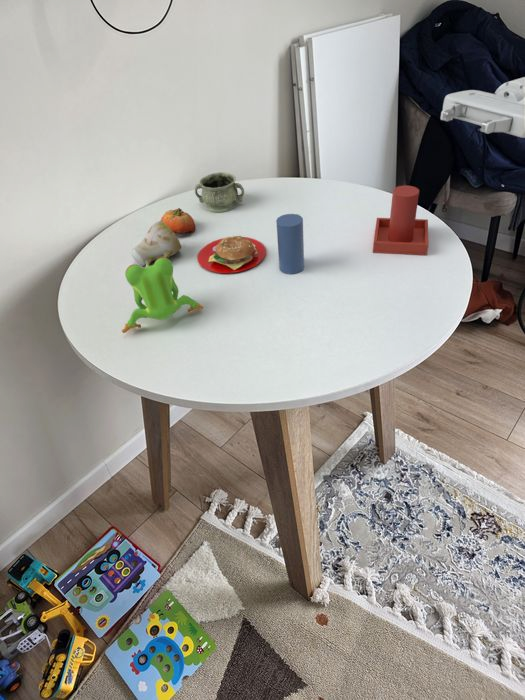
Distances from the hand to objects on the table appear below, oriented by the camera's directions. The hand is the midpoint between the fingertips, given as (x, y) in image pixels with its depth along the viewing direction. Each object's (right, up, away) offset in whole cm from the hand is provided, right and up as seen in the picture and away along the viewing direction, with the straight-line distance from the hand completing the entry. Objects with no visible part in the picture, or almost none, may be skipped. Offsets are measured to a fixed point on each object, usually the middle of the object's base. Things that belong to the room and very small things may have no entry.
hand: (463, 122), depth 89 cm
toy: (-55, -36, -3) cm, 65 cm away
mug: (-58, -23, +12) cm, 64 cm away
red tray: (-9, -20, +9) cm, 23 cm away
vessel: (-47, -7, +28) cm, 55 cm away
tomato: (-55, -15, +20) cm, 61 cm away
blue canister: (-31, -26, +5) cm, 41 cm away
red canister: (-9, -19, +9) cm, 23 cm away
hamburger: (-43, -22, +11) cm, 50 cm away
